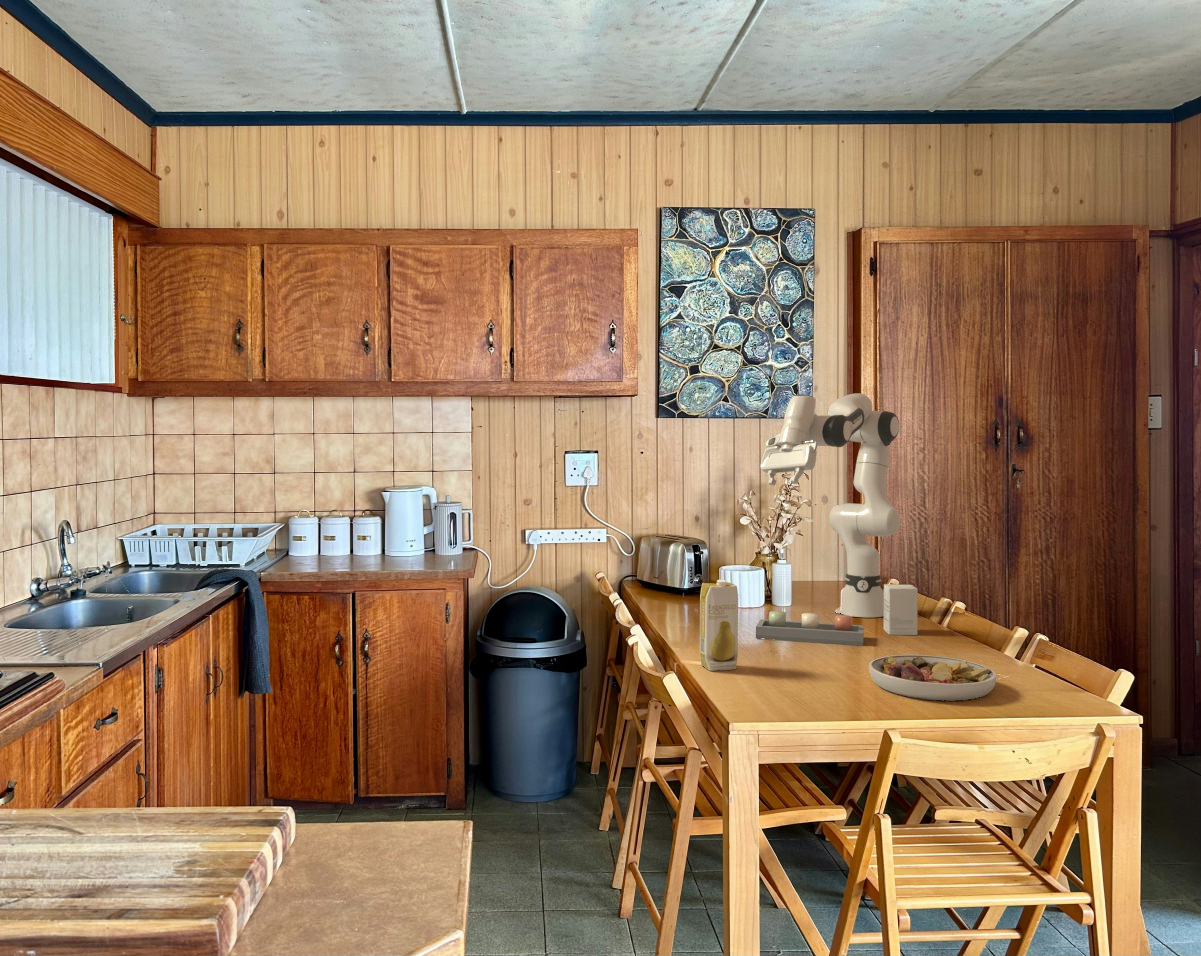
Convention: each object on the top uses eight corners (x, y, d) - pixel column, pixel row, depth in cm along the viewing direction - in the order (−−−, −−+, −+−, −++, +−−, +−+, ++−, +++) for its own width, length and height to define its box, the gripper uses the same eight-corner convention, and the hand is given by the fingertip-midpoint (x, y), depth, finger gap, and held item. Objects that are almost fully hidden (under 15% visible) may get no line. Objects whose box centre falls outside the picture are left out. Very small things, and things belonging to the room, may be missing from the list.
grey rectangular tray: (760, 631, 301) (760, 619, 301) (863, 637, 292) (863, 625, 292) (755, 638, 290) (755, 626, 290) (863, 645, 281) (863, 633, 281)
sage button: (770, 623, 297) (770, 610, 297) (786, 624, 296) (786, 611, 295) (768, 626, 292) (768, 613, 292) (785, 627, 291) (785, 614, 290)
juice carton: (707, 672, 248) (708, 582, 247) (696, 665, 256) (697, 577, 254) (740, 670, 250) (741, 581, 249) (728, 663, 258) (729, 576, 257)
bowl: (896, 667, 256) (896, 638, 256) (1011, 686, 237) (1012, 655, 237) (848, 689, 233) (849, 658, 232) (972, 712, 214) (973, 678, 213)
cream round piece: (802, 625, 294) (802, 612, 294) (819, 626, 293) (819, 613, 293) (800, 628, 289) (801, 615, 289) (818, 629, 288) (818, 616, 288)
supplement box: (911, 629, 305) (912, 584, 304) (917, 635, 296) (918, 588, 295) (882, 629, 306) (883, 583, 305) (888, 634, 297) (889, 587, 296)
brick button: (835, 627, 291) (835, 614, 291) (852, 628, 290) (852, 615, 290) (834, 630, 286) (834, 617, 286) (851, 631, 285) (852, 618, 285)
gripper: (825, 443, 283) (814, 486, 280) (776, 449, 300) (766, 489, 297) (811, 435, 280) (800, 478, 277) (762, 441, 297) (752, 481, 294)
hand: (782, 483), depth 287 cm, fingers open, 8 cm apart
